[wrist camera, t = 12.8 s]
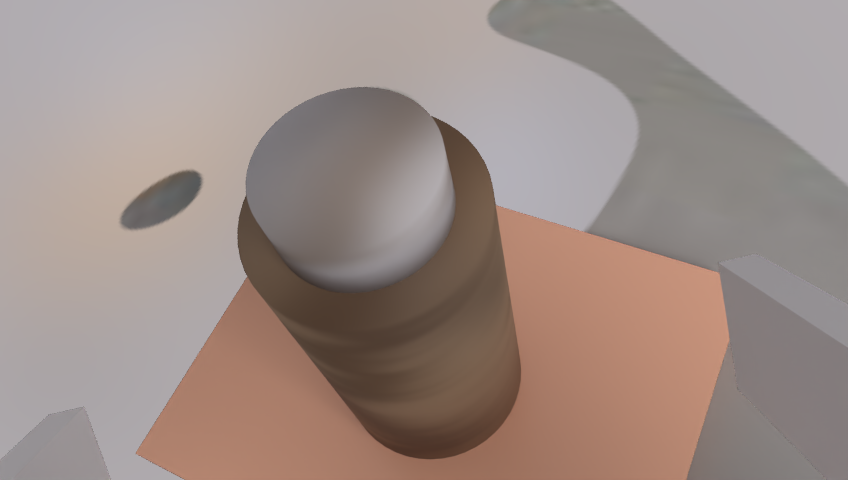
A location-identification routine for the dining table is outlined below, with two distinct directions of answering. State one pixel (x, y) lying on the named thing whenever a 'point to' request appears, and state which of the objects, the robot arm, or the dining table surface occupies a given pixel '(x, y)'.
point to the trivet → (538, 393)
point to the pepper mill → (386, 266)
